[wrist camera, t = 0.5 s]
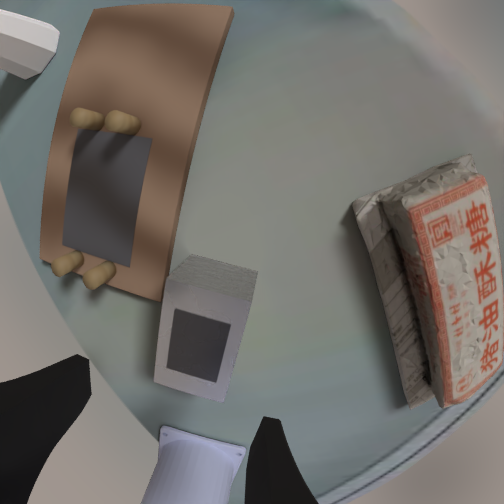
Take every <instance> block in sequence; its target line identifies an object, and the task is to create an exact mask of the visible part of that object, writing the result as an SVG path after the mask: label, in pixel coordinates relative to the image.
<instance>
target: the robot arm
mask: <svg viewBox="0 0 504 504" xmlns="http://www.w3.org/2000/svg"><path fill="white" fill-rule="evenodd" d="M90 396H91V382H90V368H89V359H87V358H84V357H82V356H80V355H78V354H76V355H74V356H71V357H69V358H67V359H65V360H62V361H60V362H58V363H55V364H53V365H51V366H48V367H46V368H44V369H41V370H39V371H36V372H34V373H31V374H28V375H25V376H22V377H19V378H16V379H13V380H9V381H6V382H1V383H0V504H27V502H28V499H29V496H30V494H31V491H32V489H33V487H34V484H35V482H36V480H37V478H38V476H39V474H40V472H41V470H42V468H43V466H44V464H45V462H46V460H47V458H48V457H49V455H50V453H51V452H52V450H53V449H54V447H55V446H56V444H57V443H58V442H59V440H60V439H61V438H62V436H63V435H64V434H65V433H66V431H67V430H68V429H69V428H70V426H71V425H72V424H73V423H74V421H75V420H76V419H77V417H78V416H79V415H80V413H81V412H82V410H83V409H84V407H85V405H86V404H87V402H88V400H89V398H90ZM245 453H246V448H245V447H243V446H238V445H234V444H230V443H225V442H221V441H217V440H213V439H209V438H206V437H202V436H198V435H195V434H191V433H188V432H185V431H181V430H178V429H175V428H172V427H169V426H162V427H161V429H160V440H159V454H158V463H157V465H156V467H155V470H154V472H153V475H152V477H151V479H150V482H149V485H148V487H147V489H146V492H145V494H144V497H143V499H142V502H141V504H228V500H229V494H230V488H231V484H232V482H233V479H234V477H235V475H236V473H237V471H238V469H239V466H240V464H241V462H242V460H243V458H244V455H245ZM245 504H318V502H317V501H316V499H315V498H314V496H313V495H312V493H311V491H310V490H309V488H308V486H307V485H306V483H305V481H304V479H303V477H302V475H301V473H300V471H299V469H298V467H297V465H296V463H295V460H294V458H293V456H292V453H291V451H290V448H289V446H288V443H287V440H286V437H285V434H284V431H283V427H282V424H281V421H280V420H279V419H275V418H270V417H265V416H264V417H263V419H262V421H261V424H260V426H259V428H258V431H257V433H256V435H255V437H254V440H253V442H252V444H251V447H250V452H249V457H248V463H247V468H246V486H245Z"/></svg>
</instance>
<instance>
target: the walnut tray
mask: <svg viewBox="0 0 504 504" xmlns="http://www.w3.org/2000/svg"><path fill="white" fill-rule="evenodd" d="M233 17H234V10H233V7H229V6H218V5H203V4H141V5H127V6H116V7H107V8H99V9H94V10H93V12H92V14H91V17H90V19H89V21H88V23H87V26H86V28H85V31H84V33H83V35H82V38H81V41H80V43H79V46H78V48H77V51H76V54H75V57H74V60H73V62H72V65H71V68H70V72H69V75H68V78H67V81H66V84H65V88H64V91H63V95H62V98H61V102H60V106H59V110H58V114H57V118H56V122H55V127H54V132H53V136H52V141H51V147H50V152H49V158H48V164H47V171H46V178H45V186H44V194H43V204H42V216H41V232H40V259H42V260H44V261H47V262H49V263H51V268H52V271H53V273H54V274H55V275H56V276H58V277H61V276H63V275H65V274H67V273H69V272H71V271H72V272H75V273H77V274H80V275H83V283H84V285H85V286H86V287H87V288H88V289H90V290H94V289H96V288H97V287H99V286H100V285H102V284H103V283H105V284H107V285H110V286H113V287H116V288H119V289H122V290H125V291H128V292H131V293H134V294H137V295H140V296H143V297H146V298H149V299H152V300H155V301H158V302H161V301H162V300H163V297H164V290H165V283H166V278H167V277H168V276H169V270H170V264H171V259H172V253H173V247H174V242H175V236H176V231H177V226H178V221H179V216H180V211H181V206H182V201H183V196H184V192H185V187H186V182H187V178H188V174H189V169H190V165H191V161H192V156H193V152H194V148H195V144H196V140H197V136H198V132H199V128H200V125H201V121H202V117H203V113H204V110H205V106H206V102H207V99H208V95H209V92H210V88H211V85H212V82H213V78H214V75H215V72H216V68H217V65H218V62H219V59H220V56H221V52H222V49H223V46H224V43H225V40H226V37H227V34H228V31H229V28H230V25H231V23H232V20H233Z"/></svg>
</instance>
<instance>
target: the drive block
mask: <svg viewBox="0 0 504 504" xmlns="http://www.w3.org/2000/svg"><path fill="white" fill-rule="evenodd" d="M257 274H258V271H254V270H251V269H247V268H243V267H239V266H235V265H232V264H228V263H224V262H220V261H217V260H213V259H209V258H205V257H202V256H198V255H194V254H191V255H190V256H189V257H188V258H187V259H186V260H185V261H184V262H183V263H182V264H181V265H180V266H179V267H177V268H176V269H175V270H174V271H173V272H172V273H171V274H170V275H169V276H168V277H167V278H166V283H165V290H164V297H163V304H162V311H161V319H160V327H159V335H158V343H157V353H156V362H155V373H154V382H155V383H158V384H161V385H164V386H167V387H170V388H173V389H176V390H180V391H183V392H186V393H189V394H193V395H196V396H200V397H203V398H207V399H210V400H214V401H218V402H222V403H224V400H225V396H226V393H227V389H228V386H229V382H230V378H231V375H232V371H233V368H234V364H235V361H236V357H237V354H238V350H239V346H240V343H241V339H242V336H243V332H244V329H245V325H246V321H247V318H248V314H249V310H250V307H251V303H252V299H253V294H254V289H255V284H256V279H257Z"/></svg>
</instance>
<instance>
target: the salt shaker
mask: <svg viewBox="0 0 504 504" xmlns="http://www.w3.org/2000/svg"><path fill="white" fill-rule="evenodd" d="M59 35H60V32H59V31H58V30H57V29H55V28H54V27H53V26H52V25H51V24H48V23H45V22H42V21H39V20H36V19H33V18H29V17H26V16H23V15H19V14H16V13H12V12H8V11H5V10H1V9H0V69H2V70H4V71H6V72H9V73H11V74H13V75H16V76H18V77H20V78H23V79H25V80H26V79H28V78H30V77H32V76H35V75H37V74H39V73H42V71H43V70H44V68H45V67H46V66H47V64H48V63H49V62H50V60H51V59H52V58H53V56H54V55H55V54H56V50H57V45H58V40H59Z"/></svg>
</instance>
